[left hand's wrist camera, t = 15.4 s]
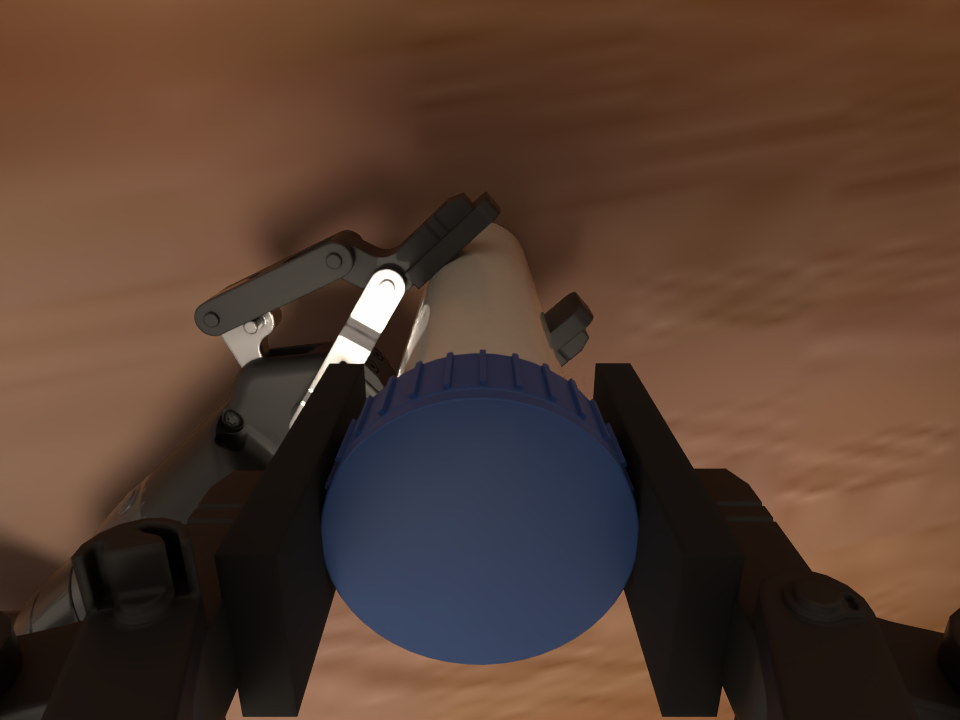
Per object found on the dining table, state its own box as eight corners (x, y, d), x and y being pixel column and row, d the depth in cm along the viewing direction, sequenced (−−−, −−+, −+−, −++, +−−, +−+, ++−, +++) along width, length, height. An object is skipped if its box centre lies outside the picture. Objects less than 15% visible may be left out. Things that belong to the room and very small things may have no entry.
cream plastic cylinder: (546, 263, 29) (656, 514, 11) (484, 331, 30) (490, 659, 12) (475, 200, 28) (466, 359, 10) (414, 272, 29) (304, 534, 11)
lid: (626, 342, 11) (655, 386, 9) (614, 587, 13) (636, 665, 11) (324, 351, 11) (293, 398, 9) (355, 594, 13) (335, 673, 11)
